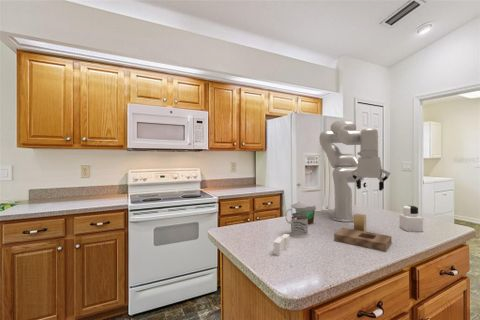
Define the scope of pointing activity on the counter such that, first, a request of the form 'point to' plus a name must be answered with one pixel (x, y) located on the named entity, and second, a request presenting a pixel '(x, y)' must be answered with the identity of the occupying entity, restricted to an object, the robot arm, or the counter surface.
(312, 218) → the food container
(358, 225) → the brass peg
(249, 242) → the counter surface
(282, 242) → the napkin holder
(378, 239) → the walnut square hole board
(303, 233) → the french press
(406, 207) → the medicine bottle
